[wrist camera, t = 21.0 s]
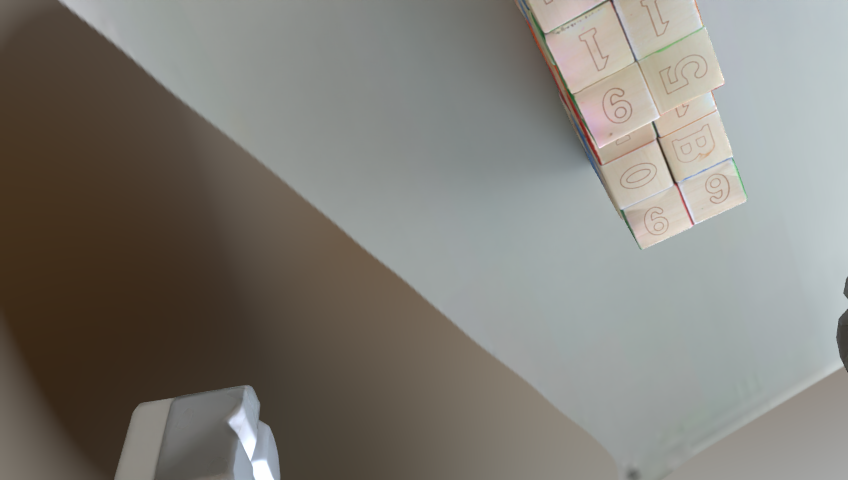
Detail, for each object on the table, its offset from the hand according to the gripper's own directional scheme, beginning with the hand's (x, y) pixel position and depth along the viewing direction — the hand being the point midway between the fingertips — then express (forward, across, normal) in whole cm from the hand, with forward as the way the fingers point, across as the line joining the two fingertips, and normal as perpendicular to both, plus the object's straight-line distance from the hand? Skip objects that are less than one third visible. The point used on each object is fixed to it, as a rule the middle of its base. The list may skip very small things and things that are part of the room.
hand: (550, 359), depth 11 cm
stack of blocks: (+35, -9, +8) cm, 37 cm away
